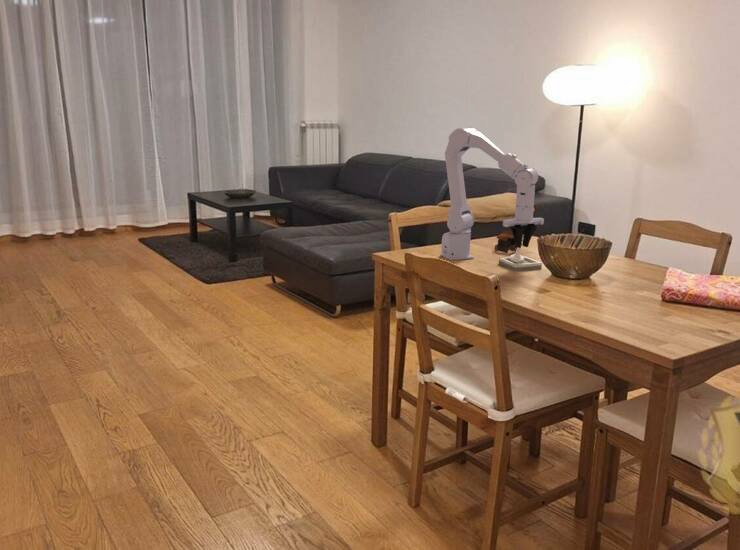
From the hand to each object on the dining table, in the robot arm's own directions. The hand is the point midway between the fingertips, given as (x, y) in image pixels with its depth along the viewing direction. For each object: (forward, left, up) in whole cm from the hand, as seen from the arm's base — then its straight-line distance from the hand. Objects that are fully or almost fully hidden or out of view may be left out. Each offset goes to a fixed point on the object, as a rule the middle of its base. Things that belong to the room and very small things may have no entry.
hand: (521, 246), depth 216 cm
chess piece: (0, +3, -5) cm, 6 cm away
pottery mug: (+9, +21, -7) cm, 24 cm away
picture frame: (0, 0, -7) cm, 7 cm away
